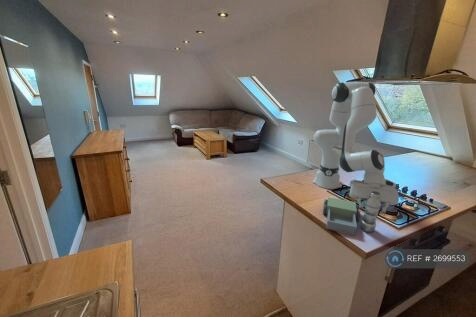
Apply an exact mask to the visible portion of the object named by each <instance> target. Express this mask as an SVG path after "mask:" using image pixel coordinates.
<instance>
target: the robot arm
mask: <svg viewBox="0 0 476 317" xmlns="http://www.w3.org/2000/svg"><path fill="white" fill-rule="evenodd" d="M331 89H332V90H331V94H330V95H331V99H332V100H333V102H332V105H331V109H330V114H329V119H328V120H329V123H330V124H331V125H333V126H335V127H336V128H335V129H330V128H329V129H326V128H325V129H318V130H316V132H314V134H313V142H314V143H315V145H316V146H317V147H318V148H319V149H320V151H321V163H320V165H319V170H317V171H316V176H315V178H314V179H313V180H312V183H313V184H315V185H317V186H318V187H319V188H323V189H329V190H331V189H332V190H333V189H338V188H342V184H341V182H340V179H341V175H340V174H339V171H340V168H341V169H342V171H344V172H345V173H352V172H353V173H354V172H362V171H364V173H363V180H357V179H352V180H350V181H349V187H350V188H349V194H348V196H349V197H350V198H351V199H356V201H357V203H358V206H359V209H364V203H362V202H361V201H362V200H363V201H366V200H367V199H368V198H369V197H371V196H370V195H371V192H372V191H376V192H379V193H380V198H379V200H380V202H381V204H384V207H380V210H381V213H386V212H387V208H388V207H389V206H390V205H391V206H396V205H397V204H399V192H398V190H397V188H396V186H397V185H396V182H394V181H391V180H388V179H387V178H385V169H386V168H385V158H384V155H383V153H382V152H380V151H378V150H375V149H366V150H362V151H360V150H358V151H353V144H354V143H355V142H356V134H358V133H359V132H360V131H361V130H363V129H365V128H367V127H369V126H371V124H372V123H374V121H375V120H376V119H377V102H376V98H375V95H376V86H375V84H374V83H372V82H368V81H363V82H362V81H348V82H343V81H342V82H338V83H335V84H334V86H333V87H332V88H331ZM333 147H340V148H341V153H340V154H339V153H338V152H337V151H336V150H333V149H334V148H333Z"/></svg>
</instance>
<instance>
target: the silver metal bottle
mask: <svg viewBox="0 0 476 317" xmlns="http://www.w3.org/2000/svg"><path fill="white" fill-rule="evenodd" d="M370 196H371V197H369V198H368V199H367V200H365V205H364V212H363V213H364V214H363V215H362V216H363V217H362V219H361V221H360V228H361V230H363V231H364V232H367V233H373V232H374V231H375V230H376V228H377V218H378V214H379V212H380V210H381V208H382V203H381V202H380V200H379V198H380V193H379V192H376V191H372V192H371V195H370Z"/></svg>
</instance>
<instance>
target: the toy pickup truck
mask: <svg viewBox="0 0 476 317" xmlns="http://www.w3.org/2000/svg"><path fill="white" fill-rule="evenodd" d="M359 209H360V208H359V204H358V205H357V203H356V202H355V201H351V200H346V199H339V198H335V197H327V199H324V202H323V210H322V214H323V215H327V216H326V219H327V220H326V229H327V230H330V231H335V232H338V233H343V234H348V235H352V236H356V235H357V234H356V232H357V229H358V226H357V221H358V222H359V220H360V216H361V212H360V210H359Z"/></svg>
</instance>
